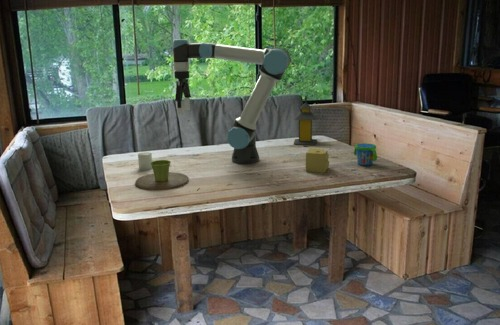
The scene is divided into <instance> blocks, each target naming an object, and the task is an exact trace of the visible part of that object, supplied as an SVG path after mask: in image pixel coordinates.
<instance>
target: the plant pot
mask: <svg viewBox="0 0 500 325" xmlns="http://www.w3.org/2000/svg"><path fill="white" fill-rule="evenodd" d="M171 163H172V162H171V161H170V160H168V159H159V160H154V161H153V160H152V162H151V163H150V164H151V166H152V168H153V169H152V172H153V174H154V177H155V181H157V182H158V181H160V182H164V181H167V180H168V176H169V172H170V167H171Z"/></svg>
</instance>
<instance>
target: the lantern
mask: <svg viewBox="0 0 500 325" xmlns="http://www.w3.org/2000/svg"><path fill="white" fill-rule="evenodd" d="M307 100H308V95H304V103H303V104H302V105H301V106H300V108H299V109H300V111H299V113H297V115H296V116H295V117H294V121H295V120H296V121H298V138H295V139H294V141H293V145H294V146H317V142H318V139H316V138H313V121H316V120H317V119H318V118H317V116H316V114H315V113H314V112H312V111H311V109H312V106H311V105H310V104H309V103H308V101H307Z"/></svg>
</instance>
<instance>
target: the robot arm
mask: <svg viewBox="0 0 500 325" xmlns="http://www.w3.org/2000/svg"><path fill="white" fill-rule="evenodd" d="M172 54H173V63H172V66H173V70H174V79H177V81H176V82H175V83H176V85H175V86H176V87H175V98H174V101H175V102H176V106H177V107H176V108H177V115H184V111H191V109H190V108H191V105H190V104H191V103H190V98H191V97H192V95H191V91H190V84H189V78H190V71H189V70H190V63H189V61H190V60H189V59H204V60H205V59H217V60H218V59H219V60H226V61H233V62H240V63H246V64H254V65H261V66H260V68H259V70H258V71H259V74H260V75H259V77H258V80H257V81H256V84H255V85H254V87H253V89H252V91H251V94H250V96H249V98H248V100H247V102H246V104H245V106H244V108H243V109H242V112H241V114H240V116H239V117H236V118H235V119H234V120H233V124H232V126H231V128H230V129H229V130H228V131H227V135H226V140H227V143H228V145H229V146H230V147H231V148H233V151H232V155H231V162H232V163H234V164H243V165H246V164H247V165H248V164H254V163H255V164H256V163H257V162H259V161H260V155H259V151H258V149H257V145H256V144H257V142H256V141H257V140H256V138H257V137H256V134H257V133H256V130H257V126H256V125H257V124H256V123H257V121H258V120H259V117H260V115H261V114H262V111H263V110H264V107H265V106H266V103H267V101H268V99H269V98H270V96H271V93H272V91H273V89H274V88H275V85H276V83H278V82H280V81H282V79H283V76H284V75H285V73H286V71H287V69H288V68H289V67H290V65H291V60H292V59H291V56H290V55H291V54H290V53H289V52H288V51H287V50H286V49H285V48H281V47H279V48H267V47H266V48H264V49H261V48H260V49H259V48H253V47H244V46H235V45H227V44H222V43H221V44H220V43H215V42H209V41H207V42H193V43H192V42H189V41H188V39H187V38H181V39H178V38H177V39H176V38H175V39H173V40H172ZM183 96H184V97H183ZM183 103H184V104H183Z"/></svg>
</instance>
